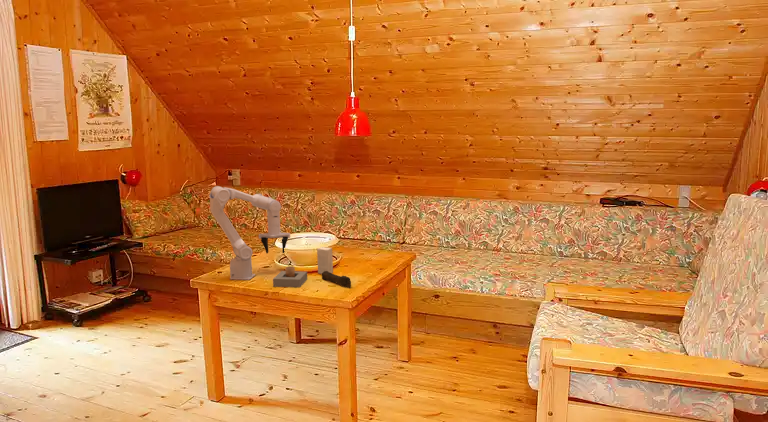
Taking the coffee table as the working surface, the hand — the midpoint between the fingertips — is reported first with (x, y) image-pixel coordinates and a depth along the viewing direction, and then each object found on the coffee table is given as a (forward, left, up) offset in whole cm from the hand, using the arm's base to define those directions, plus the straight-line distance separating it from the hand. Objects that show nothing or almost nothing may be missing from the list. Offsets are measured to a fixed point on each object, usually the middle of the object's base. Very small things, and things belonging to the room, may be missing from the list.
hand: (275, 252), depth 262 cm
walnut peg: (+12, -16, -8) cm, 22 cm away
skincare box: (+24, 0, -10) cm, 26 cm away
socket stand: (+12, -16, -9) cm, 22 cm away
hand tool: (+33, -15, -10) cm, 38 cm away
